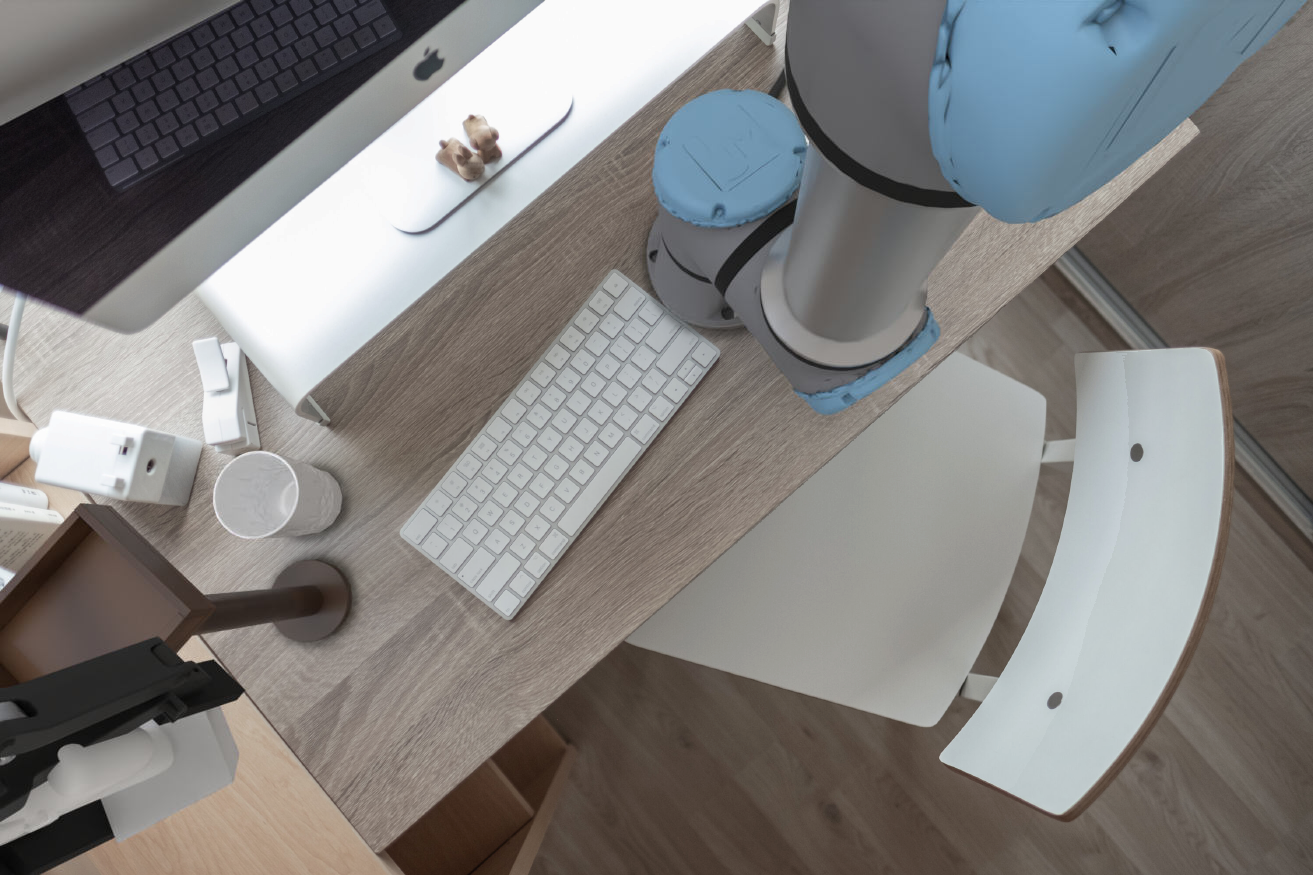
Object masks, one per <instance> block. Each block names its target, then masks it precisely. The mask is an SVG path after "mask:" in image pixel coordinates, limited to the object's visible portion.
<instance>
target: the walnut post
mask: <svg viewBox="0 0 1313 875" xmlns="http://www.w3.org/2000/svg"><path fill="white" fill-rule="evenodd" d="M352 594H353V592H352V589H351V584H350V582H349V580H348V578H347V576H346V575H345V574H344V572H343V571H342V570H341V569H340V568H339V567H337V566H336V565H335V564H333V563H331V562H329V561H326V560H323V559H306V560H301V561H297V562H295V563H293V564H291V565H289V566H287V567H286V568H285V569H284V570H282V571H281V572H280V573H279V575H278V576H277V578H276V579H275V581H274V582H273V584H272V586H271V588H264V589H263V588H262V589H254V590H253V589H252V590H242V591H230V592H219V593H218V592H217V593H207V594H203V595H204V596H206V597H207V598H208V599H209V600H210V601H211V602H212V603H213V604H214V605H215V606H216V607H217V608H216V610H215V611H214V612H213V613H212V614H211V615H210V616H209V618H208V619H207V620H206V621H205V622H204V623H203V624H202V625H201V627H200V628H199V629H198V630H197V631H196V632H195V633H194V635H193V636H192V637H194V636H201V635H206V634H207V635H208V634H213V633H217V632H223V631H230V630H236V629H241V628H248V627H254V626H259V625H265V624H271V623H273V624H274V626H275V628H276V629H277V630H278V631H279V632H280V633H281V634H282V635H283V636H284V637H286V638H288V639H289V640H292V641H295V642H298V643H314V642H318V641H322V640H324V639H327V638H329V637H331V636H332V635H334V634H335V633H336V632H338V631H339V630H340V629H341V628H342V626H343V625H344V624H345V622H346V620H347V619H348V617H349V614H350V612H351V608H352V601H353V595H352Z"/></svg>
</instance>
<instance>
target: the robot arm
mask: <svg viewBox="0 0 1313 875" xmlns="http://www.w3.org/2000/svg"><path fill="white" fill-rule="evenodd" d="M241 1H242V0H0V127H1V126H3V125H5V124H7V123H9V122H10V121H12V120H15V119H16V118H19V117H20V116H22V115H24V114H26V113H28V112H30V111H31V110H34V109H36V108H37V107H39V106H41V105H43V104H45V103H47V102H49V101H51V100H53V99H55V98H57V97H59V96H60V95H62V94H65V93H67V92H69V91H70V90H72V89H74V88H76V87H77V86H80V85H82V84H83V83H85V82H88V81H89V80H91V79H93V78H95V77H97V76H99V75H101V74H102V73H103V74H104V73H105V72H106V71H108V70H110V69H113V68H114V67H117V66H119V65H120V64H122V63H124V62H126V61H128V60H130V59H132V58H133V57H136V56H138V55H139V54H141V53H143V52H145V51H148V50H149V49H151V48H153V47H155V46H157V45H159V44H160V43H162V42H164V41H166V40H169V39H170V38H172V37H174V36H177V35H178V34H179V33H182V32H184V31H185V30H187V29H190V28H192V27H193V26H195V25H197V24H199V23H201V22H203V21H205V20H207V19H209V18H211V17H212V16H214V15H216V14H218V13H221V12H222V11H223V10H225V9H228V8H231V7H232V6H234V5H235V4H237V3H239V2H241ZM1307 2H1308V0H789V2H788V3H789V5H788V11H787V12H788V13H787V20H786V30H785V43H784V67H783V68H782V71H781V72H780V74H779V75H778V78H777V80H776V81H775V82H774V84H773V86H772V87H771V88H770V91H769V92H768V94H767V93H766V92H763V91H759V90H755V89H752V88H751V89H750V88H745V89H740V90H739V89H732V88H723V89H722V88H721V89H716V90H712V91H710V92H707V93H704V94H702V95H699V96H697V97H695V98H693V99H691V100H690V101H688V102H687V103H686V104H684V105H682V106H681V107H680V108H679V109H678V110H677V111H676V112H675V113H674V114H673V115H671V117H670V118H669V120H668V121H667V123H666V124H665V125H664V127H663V129H662V130H661V133H660V135H659V136H658V140H657V142H656V146H655V150H654V156H653V158H654V159H653V164H654V165H653V167H652V171H651V179H652V184H653V185H652V186H653V188H654V193H655V195H656V202H657V212H658V215H657V216H656V218H655V220H654V222H653V224H652V227H651V229H650V231H649V235H648V239H647V244H646V267H647V273H648V277H649V279H650V284H651V286H652V288H653V291H654V292H655V294H656V296H657V297H658V299H659V300H660V301H661V303H662V304H663V306H665V308H666V309H667V310H668V311H669V312H671V313H672V314H673V315H674V316H676V317H677V318H678V319H680V320H682V321H684V322H686V323H688V324H690V325H692V326H695V327H697V328H701V329H705V330H713V331H730V330H737V329H741V328H744V327H746V329H747V330H748V331H749V332H750V333H751V335H752V336H753V337H754V339H755V340H756V342H758V344H759V345H760V346H761V348H762V349H763V350H764V352H765V353H766V354H767V355H768V357H769V358H770V359H771V361H772V362H773V363H774V364H775V366H776V367H777V369H779V371H780V372H781V374H782V375H783V376H784V377H785V378H786V380H787V382H788V383H789V384H790V386H792V390H793V392H794V393H795V394H796V395H797V396H798V397H799V398H801V399H803V400H804V401H805V403H806V404H807V405H808V406H809V407H810V408H811V409H812V410H813V411H814V412H815V413H817V414H819V415H822V416H832V415H836V414H838V413H840V412H843V411H844V410H847V409H849V408H850V407H852V406H853V405H854V404H856V403H857V402H858V401H861V400H862V399H865V398H867V397H868V396H870V395H871V394H873V393H874V392H876V391H877V390H879V389H880V388H882V387H884V385H886V384H887V383H889V382H890V381H892V380H893V379H895V378H896V377H897V376H898V375H900V374H901V373H903V372H904V371H905V370H907V369H908V368H909V367H911V366H912V365H913V364H914V363H915V362H917V361H918V360H919V359H920V358H922V357H923V356H924V355H925V354H926V353H928V352H929V351H930V350H931V348H932V347H933V346H934V345H935V344H936V343H937V342H938V340H939V339H940V336H941V326H940V325H939V323H938V322H937V320H936V319H935V316H934V313H933V312H932V309H931V308H930V307H929V306H927V299H928V289H929V282H928V278H929V277H930V275H931V274H932V273H933V271H934V270H935V269H936V267H937V266H938V265H939V264H940V262H941V261H942V260H943V259H944V257H945V256H946V255H947V254H948V252H949V251H950V250H951V248H952V247H953V246H954V245H955V243H956V242H957V241H958V239H960V237H961V236H962V234H963V233H964V232H965V230H966V229H967V228H968V227H969V226H970V224H971V223H972V222H973V220H974V219H975V218H976V217H977V215H978V214H979V213H980V212H981V210H982V209H983V210H984V211H985V212H986V213H987V214H988V215H990V216H991V217H992V218H994V219H995V220H997V221H1000V222H1002V223H1006V224H1008V225H1019V224H1020V225H1022V224H1028V223H1030V224H1035V223H1037V222H1040V221H1042V220H1046V219H1047V220H1048V219H1050V218H1053V217H1054V216H1057V215H1059V214H1060V213H1063V212H1064V211H1067V210H1068V209H1070V208H1072V207H1074V206H1075V205H1077V204H1078V203H1080V202H1082V201H1083V200H1085V199H1086V198H1087V197H1089V196H1091V195H1092V194H1093V193H1095V192H1097V191H1098V190H1100V189H1101V188H1103V187H1104V186H1105V185H1107V184H1108V183H1109V182H1111V181H1113V180H1114V179H1115V178H1116V177H1118V176H1120V174H1122V173H1123V172H1124V171H1125V170H1127V169H1128V168H1130V167H1131V166H1132V165H1133V164H1134V163H1136V162H1137V161H1138V160H1139V159H1140V158H1142V157H1143V156H1144V155H1145V154H1147V153H1148V152H1149V151H1150V150H1152V149H1153V148H1155V147H1156V146H1157V145H1158V144H1160V143H1161V142H1162V141H1163V140H1164V139H1165V138H1166V137H1168V136H1169V135H1170V134H1171V133H1172V132H1174V130H1175V129H1177V128H1178V127H1179V126H1180V125H1181V124H1182V123H1184V122H1185V121H1186V120H1187V119H1188V118H1189V117H1191V115H1193V114H1194V113H1195V112H1196V111H1197V110H1198V109H1199V108H1200V107H1201V106H1203V105H1204V104H1206V102H1207V101H1208V100H1209V99H1210V98H1211V97H1212V96H1213V95H1214V93H1216V92H1217V90H1218V89H1220V87H1221V86H1222V85H1223V84H1224V83H1225V82H1226V81H1227V79H1229V77H1230V76H1231V75H1232V74H1233V73H1234V72H1235V70H1236V69H1237V68H1238V67H1239V66H1240V65H1241V64H1242V63H1244V62H1245V61H1246V60H1248V59H1249V58H1250V57H1252V56H1253V55H1255V54H1256V53H1257V52H1259V50H1260V49H1262V48H1263V47H1264V46H1265V45H1266V44H1268V43H1269V41H1270V40H1272V38H1273V37H1274V36H1275V35H1277V33H1278V32H1279V31H1280V30H1281V29H1282V28H1283V27H1284V26H1285V25H1286V24H1287V23H1288V22H1289V21H1290V20H1291V19H1292V18H1293V17H1294V16H1295V14H1296V13H1298V11H1299V10H1301V8H1302V7H1303V6H1304V5H1305V4H1306V3H1307ZM785 84H786V86H787V92H788V96H789V101H790V105H791V106H790V107H791V109H792V110H791V109H790V108H789V107H788V106H787V105H786V104H785V103H783V102H782V101H781V100H779V99H777V98H778V96H779V94H780V92H781V91H782V90H783V88H784V86H785ZM807 140H808V143H807ZM245 692H246V689H245V688H244V687H243V686H242V685H241V684H240V683H239V682H238V681H237V680H236V679H235V678H233V676H232V675H231V674H230V673H229V672H228V671H227V670H226V669H225V668H223V667H222V666H221V665H220V664H219V663H218V662H217V661H216V660H215V659H214V658H213V659H208V660H203V661H199V662H196V661H193V660H192V659H191V660H187V661H185V660H184V659H183V658H182V657H181V656H180V655H179V654H178V653H177V654H176V653H175V652H174V651H173V650H172V649H171V648H170V647H169V646H168V645H167V644H166V643H165V642H164V641H163V640H162V639H161V638H160V637H158V636H157V637H153V638H150V639H148V640H145V641H142V642H139V643H136V644H133V645H130V646H127V647H124V648H122V649H119V650H116V651H113V652H110V653H107V654H104V655H101V656H99V657H96V658H93V659H90V660H87V661H84V662H81V663H78V664H76V665H73V666H70V667H67V668H64V669H61V670H58V671H55V672H53V673H50V674H47V675H44V676H41V677H38V678H35V679H32V680H29V681H27V682H24V683H21V684H18V685H15V686H12V687H6V688H0V822H1V821H3V820H5V819H6V818H8V817H10V816H11V815H13V814H15V813H16V812H18V811H20V810H21V809H22V808H23V807H24V806H25V804H26V802H27V800H28V798H29V795H30V793H31V790H33V789H35V788H36V787H38V786H40V785H41V784H43V783H45V782H47V781H48V780H47V777H48V775H49V773H50V772H51V770H52V769H53V768H54V767H55V766H56V765H57V764H58V763H59V762H60V760H59V758H58V751H59V750H60V749H61V748H62V747H63V746H65V745H69V744H79V745H81V746H82V747H83V748H85V747H88V746H91V745H94V744H97V743H100V742H103V741H106V740H109V739H112V738H116V737H119V736H122V735H125V734H128V733H130V732H131V731H133V730H135V729H136V728H138V727H140V726H141V725H143V724H145V723H147V722H148V721H150V720H152V719H153V720H154V721H155V722H156V723H157V724H158V725H159V726H160V725H164V724H167V723H170V722H171V723H172V724H173V723H174V722H176V721H177V720H179V719H182V718H185V717H188V716H191V715H194V714H197V713H200V712H203V711H206V710H209V709H212V708H215V707H218V706H224V705H227V704H230V703H234V702H236V701H238V700H239V699H240V697H241V696H242V695H243V694H244V693H245ZM113 839H115V836H114V833H113V831H112V828H111V825H110V823H109V820H108V817H107V815H106V812H105V809H104V806H103V804H102V801H101V799H98V800H96V801H93V802H91V803H89V804H86V805H84V806H81V807H79V808H77V809H74V810H72V811H70V812H68V813H65V814H63V815H61V816H59V818H58V819H56V820H55V821H53V822H52V823H51V824H49V825H47V826H45V827H42V828H40V829H38V830H35V831H33V832H31V833H28V834H26V835H24V836H22V837H19V838H17V839H15V840H13V841H10V842H8V843H6V844H3V845H1V846H0V875H43V874H44V873H47V872H48V871H51V870H52V869H55V868H57V867H59V866H60V865H62V864H64V863H67V862H69V861H71V860H73V859H75V858H77V857H79V856H81V855H83V854H85V853H87V852H90V851H91V850H93V849H95V848H97V847H100V846H101V845H104V844H105V843H107V842H110V841H111V840H113Z"/></svg>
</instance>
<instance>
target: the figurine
mask: <svg viewBox="0 0 1313 875" xmlns="http://www.w3.org/2000/svg"><path fill="white" fill-rule="evenodd" d="M221 706H222V705H221ZM221 706H218V707H215V708H212V709H209V710H206V711H203V712H200V713H197V714H194V715H191V716H188V717H185V718H182V719H179V720H177V721H176V722H174V723H173V724H172V723H171V722H170V723H167V724H164V725H160V726H159V725H158V724H157V723H156V722H155V721H154V720H153V719H152V720H150V721H148V722H147V723H145V724H143V725H141V726H140V727H138V728H136V729H135V730H133V731H131V732H130V733H128V734H125V735H122V736H119V737H116V738H112V739H109V740H106V741H103V742H100V743H97V744H94V745H91V746H88V747H85V748H83V747H82V746H81V745H79V744H69V745H65V746H63V747H62V748H61V749H60V750H59V751H58V758H59V760H60V762H59V763H58V764H57V765H56V766H55V767H54V768H53V769H52V770H51V772H50V773H49V775H48V777H47V780H48V781H47V782H45V783H43V784H41V785H40V786H38V787H36V788H35V789H33V790H31V793H30V795H29V798H28V800H27V802H26V804H25V806H24V807H23V808H22V809H21V810H20V811H18V812H16V813H15V814H13V815H11V816H10V817H8V818H6V819H5V820H3V821H1V822H0V846H1V845H3V844H6V843H8V842H10V841H13V840H15V839H17V838H19V837H22V836H24V835H26V834H28V833H31V832H33V831H35V830H38V829H40V828H42V827H45V826H47V825H49V824H51V823H52V822H53V821H55V820H56V819H58V818H59V816H61V815H63V814H65V813H68V812H70V811H72V810H74V809H77V808H79V807H81V806H84V805H86V804H89V803H91V802H93V801H96V800H98V799H101V801H102V804H103V806H104V809H105V812H106V815H107V817H108V820H109V823H110V825H111V828H112V831H113V833H114V836H115V838H114V839H115V841H116V844H120V843H122V842H124V841H125V840H128V839H129V838H132V837H133V836H135V835H137V834H139V833H141V832H143V831H144V830H146V829H149V828H150V827H152V826H154V825H156V824H158V823H160V822H161V821H163V820H165V819H167V818H169V817H171V816H174V815H175V814H177V813H179V812H180V811H182V810H185V809H186V808H188V807H190V806H192V805H194V804H196V803H198V802H200V801H202V800H203V799H206V798H207V797H209V796H211V795H213V794H215V793H217V792H218V791H220V790H222V789H224V788H227V787H228V786H230V785H232V784H234V783H235V779H236V773H237V768H238V763H239V758H240V751H239V748H238V746H237V743H236V740H235V738H234V736H233V734H232V731H231V729H230V726H229V723H228V721H227V719H226V715H225V714H224V711H223V708H222V707H221Z"/></svg>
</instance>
